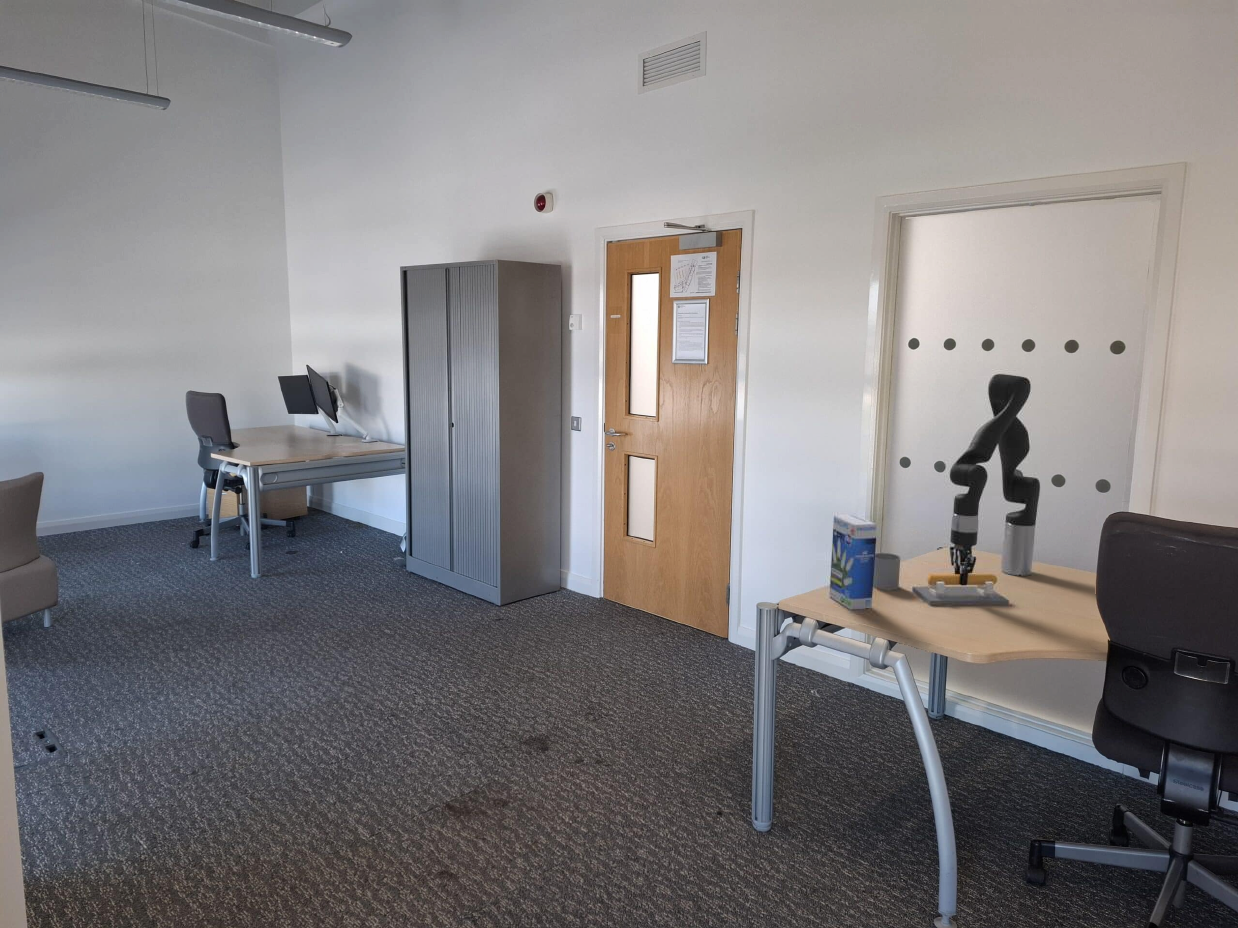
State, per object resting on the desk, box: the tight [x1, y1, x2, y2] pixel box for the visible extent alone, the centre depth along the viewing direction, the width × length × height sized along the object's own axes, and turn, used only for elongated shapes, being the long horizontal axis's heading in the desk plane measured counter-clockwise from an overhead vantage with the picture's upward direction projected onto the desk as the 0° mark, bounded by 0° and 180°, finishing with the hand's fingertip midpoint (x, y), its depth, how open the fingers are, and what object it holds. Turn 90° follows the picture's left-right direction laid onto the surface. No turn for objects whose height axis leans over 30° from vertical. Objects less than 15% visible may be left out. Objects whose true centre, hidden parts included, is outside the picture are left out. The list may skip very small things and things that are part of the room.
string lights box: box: [829, 514, 878, 611], centre depth 249 cm, size 13×8×26 cm, turn 14°
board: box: [911, 582, 1010, 607], centre depth 256 cm, size 14×24×6 cm, turn 92°
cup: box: [873, 552, 901, 592], centre depth 267 cm, size 8×8×10 cm
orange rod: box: [927, 573, 998, 586], centre depth 255 cm, size 21×3×3 cm, turn 92°
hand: (960, 582), depth 255 cm, fingers closed on orange rod, 3 cm apart
